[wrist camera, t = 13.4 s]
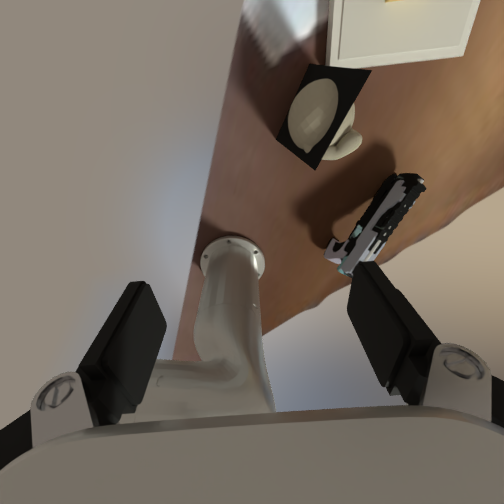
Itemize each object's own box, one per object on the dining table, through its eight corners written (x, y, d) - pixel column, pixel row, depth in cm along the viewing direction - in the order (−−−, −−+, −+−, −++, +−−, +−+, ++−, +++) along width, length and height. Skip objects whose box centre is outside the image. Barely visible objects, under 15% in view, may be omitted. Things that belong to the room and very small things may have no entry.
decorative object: (348, 90, 34) (312, 155, 39) (292, 52, 29) (260, 132, 34) (416, 105, 25) (358, 188, 30) (351, 54, 20) (295, 162, 25)
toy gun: (382, 178, 43) (434, 181, 33) (327, 260, 47) (359, 285, 37) (373, 171, 42) (423, 172, 32) (318, 255, 46) (348, 279, 36)
